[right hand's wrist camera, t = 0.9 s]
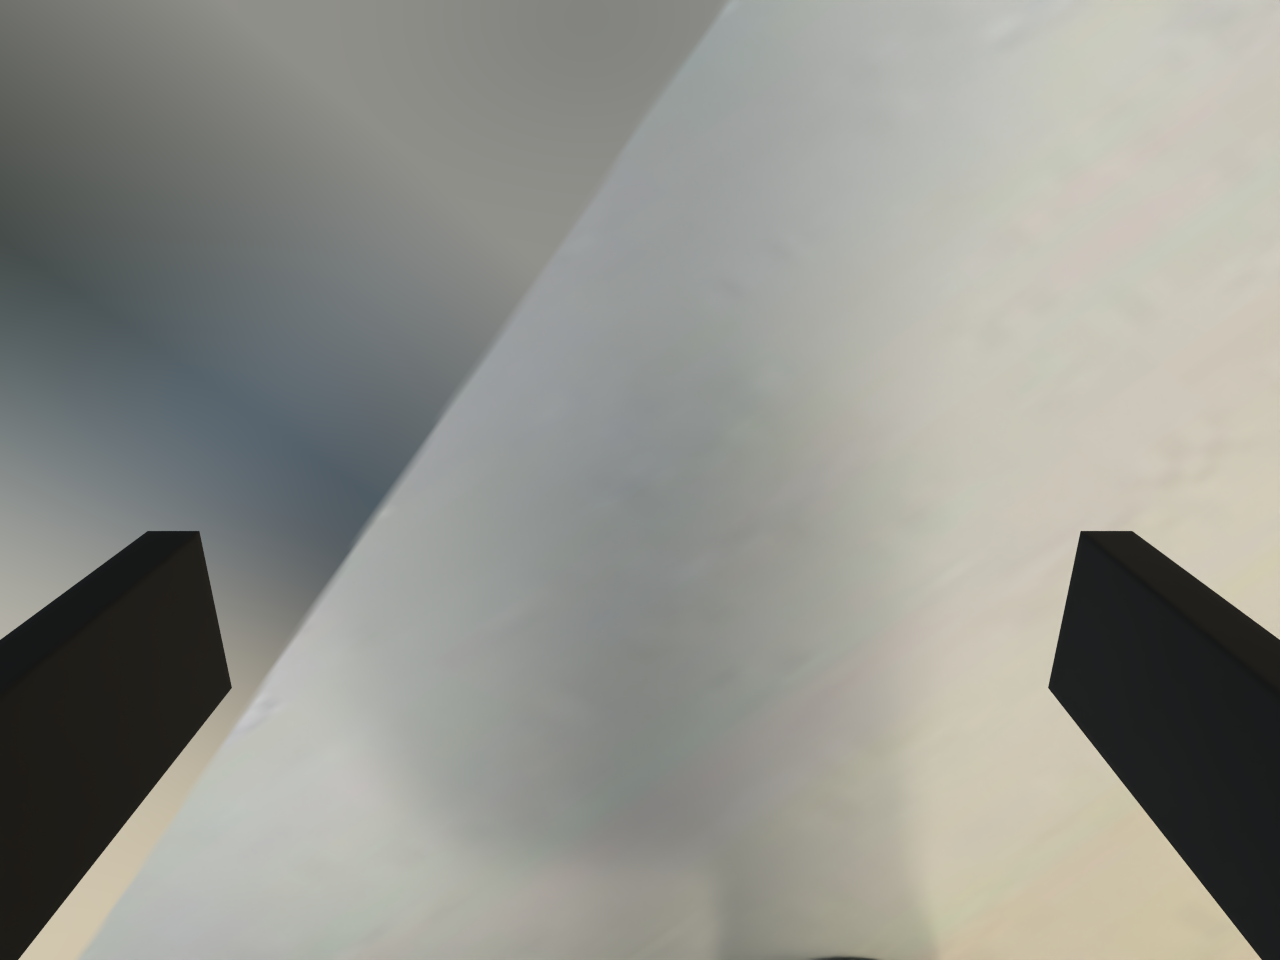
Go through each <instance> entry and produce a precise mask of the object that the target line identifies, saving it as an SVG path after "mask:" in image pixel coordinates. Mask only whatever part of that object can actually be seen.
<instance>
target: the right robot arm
mask: <svg viewBox="0 0 1280 960" xmlns="http://www.w3.org/2000/svg"><path fill="white" fill-rule="evenodd" d="M231 688H232V687H231V682H230V677H229V673H228V667H227V663H226V658H225V653H224V648H223V643H222V639H221V634H220V629H219V624H218V619H217V614H216V610H215V605H214V600H213V595H212V590H211V586H210V581H209V576H208V571H207V566H206V561H205V557H204V552H203V547H202V542H201V537H200V533H199V531H147V532H146V533H145V534H143V535H142V536H141V537H139V538H138V539H137V540H135V541H134V542H132V543H131V544H130V545H128V546H127V547H126V548H124V549H123V550H122V551H120V552H119V553H118V554H116V555H115V556H114V557H112V558H111V559H109V560H108V561H107V562H105V563H104V564H103V565H101V566H100V567H99V568H97V569H96V570H95V571H93V572H92V573H91V574H89V575H88V576H86V577H85V578H84V579H82V580H81V581H80V582H78V583H77V584H76V585H74V586H73V587H71V588H70V589H69V590H67V591H66V592H65V593H63V594H62V595H61V596H59V597H58V598H57V599H55V600H54V601H52V602H51V603H50V604H48V605H47V606H46V607H44V608H43V609H42V610H40V611H39V612H38V613H36V614H35V615H34V616H32V617H31V618H29V619H28V620H27V621H25V622H24V623H23V624H21V625H20V626H19V627H17V628H16V629H14V630H13V631H12V632H10V633H9V634H8V635H6V636H5V637H4V638H2V639H1V640H0V960H18V959H19V958H20V957H21V955H22V954H23V953H24V952H25V950H26V949H27V948H28V946H29V945H30V944H31V943H32V941H33V940H34V939H35V938H36V936H37V935H38V934H39V932H40V931H41V930H42V929H43V927H44V926H45V925H46V924H47V922H48V921H49V920H50V918H51V917H52V916H53V915H54V913H55V912H56V911H57V910H58V908H59V907H60V906H61V904H62V903H63V902H64V901H65V899H66V898H67V897H68V896H69V894H70V893H71V892H72V890H73V889H74V888H75V887H76V885H77V884H78V883H79V882H80V880H81V879H82V878H83V876H84V875H85V874H86V873H87V871H88V870H89V869H90V868H91V866H92V865H93V864H94V862H95V861H96V860H97V859H98V857H99V856H100V855H101V854H102V852H103V851H104V850H105V848H106V847H107V846H108V845H109V843H110V842H111V841H112V840H113V838H114V837H115V836H116V834H117V833H118V832H119V831H120V829H121V828H122V827H123V825H124V824H125V823H126V822H127V820H128V819H129V818H130V817H131V815H132V814H133V813H134V812H135V810H136V809H137V808H138V806H139V805H140V804H141V803H142V801H143V800H144V799H145V798H146V796H147V795H148V794H149V792H150V791H151V790H152V789H153V787H154V786H155V785H156V784H157V782H158V781H159V780H160V778H161V777H162V776H163V775H164V773H165V772H166V771H167V770H168V768H169V767H170V766H171V764H172V763H173V762H174V761H175V759H176V758H177V757H178V756H179V754H180V753H181V752H182V750H183V749H184V748H185V747H186V745H187V744H188V743H189V742H190V740H191V739H192V738H193V736H194V735H195V734H196V733H197V731H198V730H199V729H200V728H201V726H202V725H203V724H204V722H205V721H206V720H207V719H208V717H209V716H210V715H211V714H212V712H213V711H214V710H215V708H216V707H217V706H218V705H219V703H220V702H221V701H222V700H223V698H224V697H225V696H226V694H227V693H228V692H229V691H230V689H231ZM1048 688H1049V689H1050V691H1051V692H1052V693H1053V694H1054V696H1055V697H1056V698H1057V700H1058V701H1059V702H1060V703H1061V705H1062V706H1063V707H1064V708H1065V710H1066V711H1067V712H1068V714H1069V715H1070V716H1071V717H1072V719H1073V720H1074V721H1075V722H1076V724H1077V725H1078V726H1079V728H1080V729H1081V730H1082V731H1083V733H1084V734H1085V735H1086V736H1087V738H1088V739H1089V740H1090V742H1091V743H1092V744H1093V745H1094V747H1095V748H1096V749H1097V750H1098V752H1099V753H1100V754H1101V756H1102V757H1103V758H1104V759H1105V761H1106V762H1107V763H1108V764H1109V766H1110V767H1111V768H1112V770H1113V771H1114V772H1115V773H1116V775H1117V776H1118V777H1119V778H1120V780H1121V781H1122V782H1123V784H1124V785H1125V786H1126V787H1127V789H1128V790H1129V791H1130V792H1131V794H1132V795H1133V796H1134V798H1135V799H1136V800H1137V801H1138V803H1139V804H1140V805H1141V806H1142V808H1143V809H1144V810H1145V812H1146V813H1147V814H1148V815H1149V817H1150V818H1151V819H1152V820H1153V822H1154V823H1155V824H1156V826H1157V827H1158V828H1159V829H1160V831H1161V832H1162V833H1163V834H1164V836H1165V837H1166V838H1167V840H1168V841H1169V842H1170V843H1171V845H1172V846H1173V847H1174V848H1175V850H1176V851H1177V852H1178V854H1179V855H1180V856H1181V857H1182V859H1183V860H1184V861H1185V862H1186V864H1187V865H1188V866H1189V868H1190V869H1191V870H1192V871H1193V873H1194V874H1195V875H1196V876H1197V878H1198V879H1199V880H1200V882H1201V883H1202V884H1203V885H1204V887H1205V888H1206V889H1207V890H1208V892H1209V893H1210V894H1211V896H1212V897H1213V898H1214V899H1215V901H1216V902H1217V903H1218V904H1219V906H1220V907H1221V908H1222V910H1223V911H1224V912H1225V913H1226V915H1227V916H1228V917H1229V918H1230V920H1231V921H1232V922H1233V924H1234V925H1235V926H1236V927H1237V929H1238V930H1239V931H1240V932H1241V934H1242V935H1243V936H1244V938H1245V939H1246V940H1247V941H1248V943H1249V944H1250V945H1251V946H1252V948H1253V949H1254V950H1255V952H1256V953H1257V954H1258V955H1259V957H1260V958H1261V959H1262V960H1280V640H1279V639H1278V638H1276V637H1275V636H1274V635H1272V634H1271V633H1270V632H1268V631H1267V630H1266V629H1264V628H1263V627H1261V626H1260V625H1259V624H1257V623H1256V622H1255V621H1253V620H1252V619H1251V618H1249V617H1248V616H1247V615H1245V614H1244V613H1242V612H1241V611H1240V610H1238V609H1237V608H1236V607H1234V606H1233V605H1232V604H1230V603H1229V602H1228V601H1226V600H1225V599H1223V598H1222V597H1221V596H1219V595H1218V594H1217V593H1215V592H1214V591H1213V590H1211V589H1210V588H1209V587H1207V586H1206V585H1204V584H1203V583H1202V582H1200V581H1199V580H1198V579H1196V578H1195V577H1194V576H1192V575H1191V574H1190V573H1188V572H1187V571H1186V570H1184V569H1183V568H1181V567H1180V566H1179V565H1177V564H1176V563H1175V562H1173V561H1172V560H1171V559H1169V558H1168V557H1167V556H1165V555H1164V554H1162V553H1161V552H1160V551H1158V550H1157V549H1156V548H1154V547H1153V546H1152V545H1150V544H1149V543H1148V542H1146V541H1145V540H1143V539H1142V538H1141V537H1139V536H1138V535H1137V534H1135V533H1134V532H1133V531H1081V533H1080V537H1079V542H1078V547H1077V552H1076V557H1075V561H1074V566H1073V571H1072V576H1071V581H1070V586H1069V590H1068V595H1067V600H1066V605H1065V610H1064V614H1063V619H1062V624H1061V629H1060V634H1059V639H1058V643H1057V648H1056V653H1055V658H1054V663H1053V667H1052V672H1051V677H1050V682H1049V687H1048Z"/></svg>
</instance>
